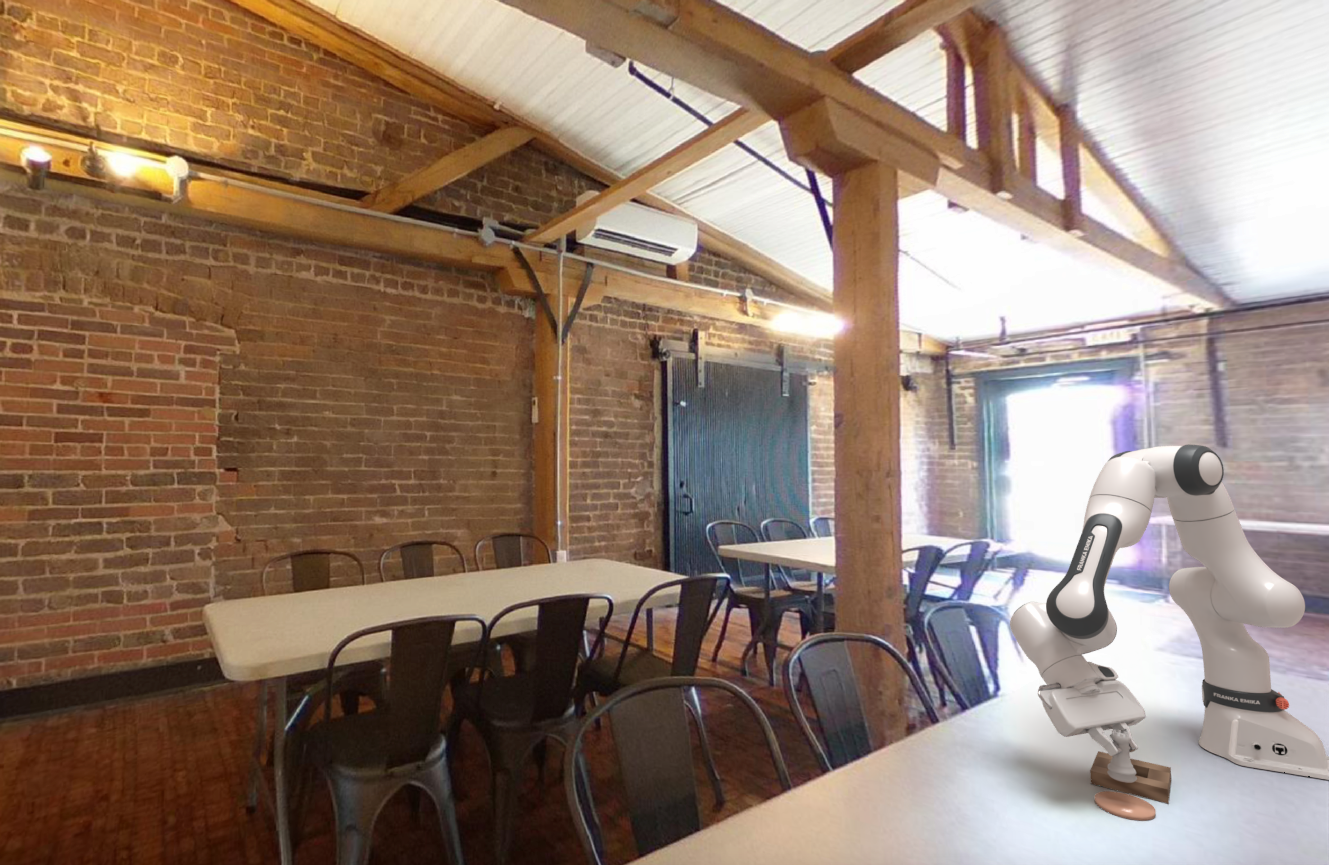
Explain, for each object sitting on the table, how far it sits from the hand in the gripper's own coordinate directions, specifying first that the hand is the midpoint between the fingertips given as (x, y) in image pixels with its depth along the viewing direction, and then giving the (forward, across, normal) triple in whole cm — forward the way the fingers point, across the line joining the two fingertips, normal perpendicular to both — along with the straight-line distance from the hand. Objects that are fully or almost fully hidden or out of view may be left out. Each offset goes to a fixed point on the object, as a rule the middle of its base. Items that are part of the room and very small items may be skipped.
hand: (1124, 752), depth 118 cm
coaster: (+7, 0, +7) cm, 10 cm away
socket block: (+2, +11, +12) cm, 17 cm away
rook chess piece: (+3, 0, +4) cm, 5 cm away
